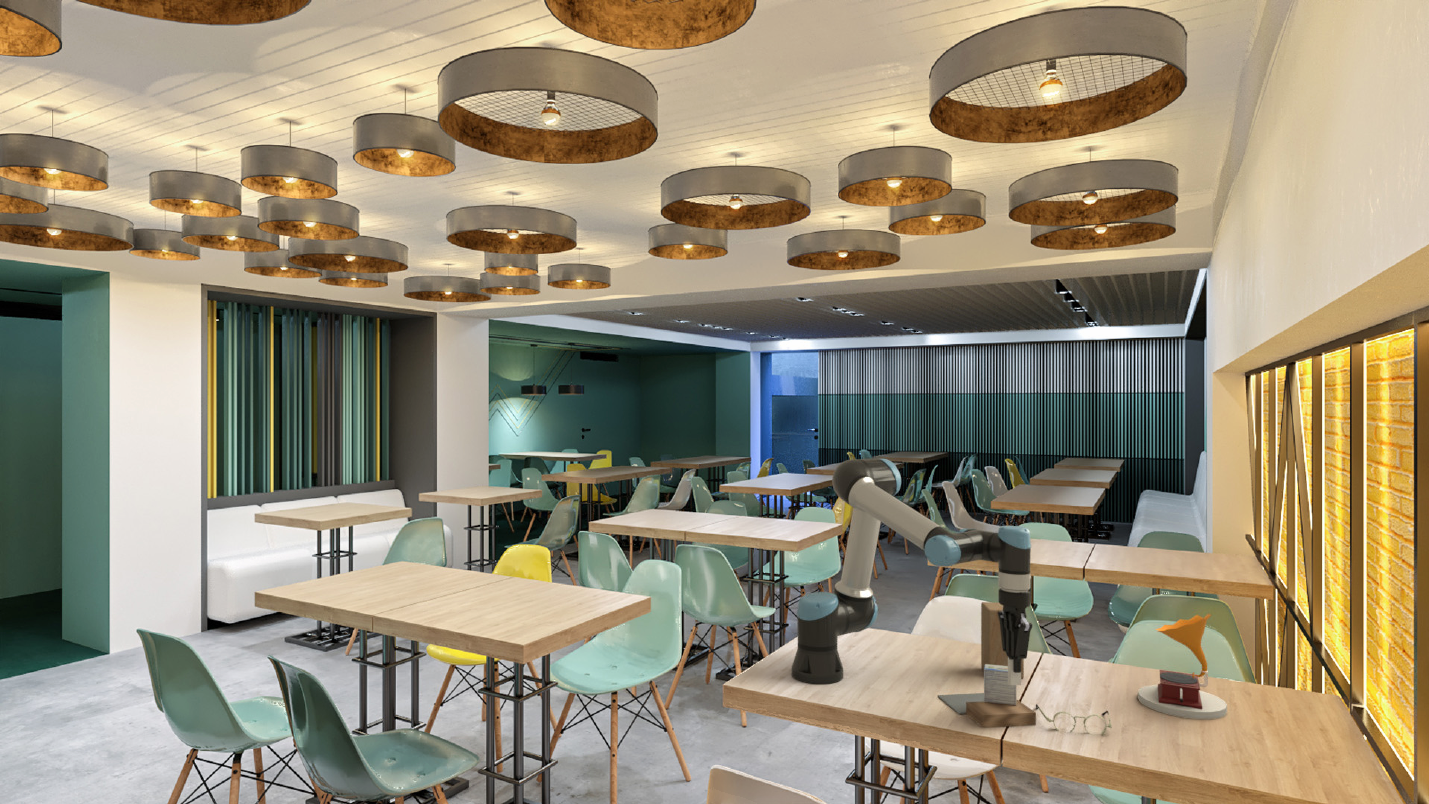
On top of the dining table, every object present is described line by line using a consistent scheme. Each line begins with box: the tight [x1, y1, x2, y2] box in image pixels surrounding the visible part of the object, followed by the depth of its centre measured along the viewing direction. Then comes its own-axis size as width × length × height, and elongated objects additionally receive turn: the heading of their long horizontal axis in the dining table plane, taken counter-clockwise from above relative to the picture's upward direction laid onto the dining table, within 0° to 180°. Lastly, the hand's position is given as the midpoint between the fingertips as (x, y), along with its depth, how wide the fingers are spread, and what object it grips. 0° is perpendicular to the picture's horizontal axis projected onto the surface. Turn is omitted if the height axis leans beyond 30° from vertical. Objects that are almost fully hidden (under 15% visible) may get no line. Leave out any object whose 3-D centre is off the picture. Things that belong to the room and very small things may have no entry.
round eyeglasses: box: [1035, 703, 1113, 736], centre depth 202 cm, size 17×15×5 cm
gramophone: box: [1137, 613, 1228, 720], centre depth 214 cm, size 20×20×25 cm
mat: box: [937, 692, 984, 715], centre depth 214 cm, size 17×13×1 cm
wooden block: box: [980, 601, 1025, 680], centre depth 239 cm, size 10×10×20 cm
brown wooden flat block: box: [965, 699, 1037, 728], centre depth 203 cm, size 14×9×3 cm, turn 98°
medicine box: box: [983, 664, 1018, 705], centre depth 207 cm, size 8×4×9 cm, turn 71°
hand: (1014, 684), depth 200 cm, fingers closed
